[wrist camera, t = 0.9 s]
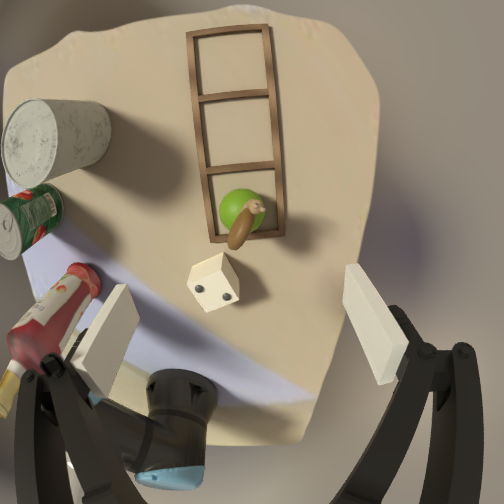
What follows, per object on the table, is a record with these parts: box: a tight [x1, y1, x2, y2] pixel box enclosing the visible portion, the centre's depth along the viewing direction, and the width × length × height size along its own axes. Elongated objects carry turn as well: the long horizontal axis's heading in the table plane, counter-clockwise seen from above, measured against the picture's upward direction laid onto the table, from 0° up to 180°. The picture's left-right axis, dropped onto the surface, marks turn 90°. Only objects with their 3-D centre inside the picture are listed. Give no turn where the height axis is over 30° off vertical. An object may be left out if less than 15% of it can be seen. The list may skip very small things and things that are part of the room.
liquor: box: [0, 262, 101, 419], centre depth 27 cm, size 7×7×28 cm
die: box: [187, 252, 239, 313], centre depth 37 cm, size 5×5×5 cm
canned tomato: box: [0, 183, 64, 260], centre depth 29 cm, size 8×8×11 cm
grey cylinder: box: [1, 99, 112, 189], centre depth 24 cm, size 10×10×12 cm
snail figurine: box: [219, 189, 266, 250], centre depth 30 cm, size 5×6×12 cm
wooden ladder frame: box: [186, 24, 285, 243], centre depth 31 cm, size 28×10×1 cm, turn 5°
